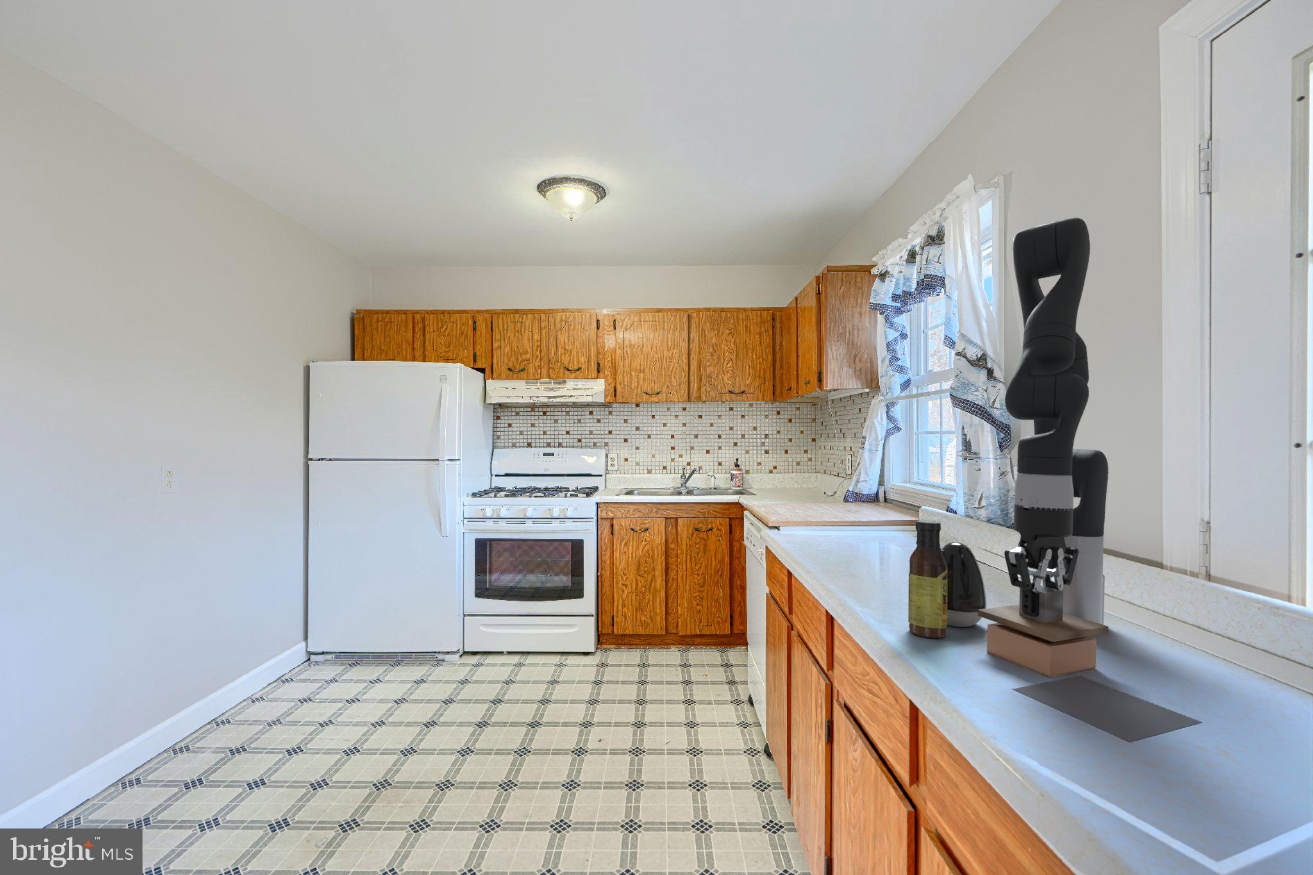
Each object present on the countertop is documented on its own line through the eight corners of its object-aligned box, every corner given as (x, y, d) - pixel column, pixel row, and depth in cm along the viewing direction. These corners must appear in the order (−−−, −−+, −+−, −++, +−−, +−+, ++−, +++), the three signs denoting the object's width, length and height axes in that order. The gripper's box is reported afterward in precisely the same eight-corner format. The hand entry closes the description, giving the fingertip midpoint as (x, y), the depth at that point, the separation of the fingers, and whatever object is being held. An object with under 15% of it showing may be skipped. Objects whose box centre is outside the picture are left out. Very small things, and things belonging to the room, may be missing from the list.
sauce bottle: (951, 641, 96) (954, 525, 96) (912, 637, 97) (915, 523, 97) (940, 628, 103) (942, 519, 103) (903, 625, 104) (906, 518, 104)
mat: (1080, 679, 82) (1080, 675, 82) (1202, 726, 69) (1202, 722, 69) (1012, 693, 77) (1012, 688, 77) (1129, 747, 64) (1129, 741, 64)
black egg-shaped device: (916, 612, 112) (918, 536, 112) (972, 615, 111) (974, 538, 111) (934, 629, 102) (936, 545, 102) (996, 633, 101) (998, 548, 101)
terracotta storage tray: (1030, 648, 94) (1030, 618, 94) (1095, 672, 84) (1096, 639, 84) (986, 655, 90) (987, 624, 90) (1049, 681, 81) (1050, 646, 81)
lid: (1029, 609, 95) (1030, 576, 95) (1108, 632, 84) (1109, 596, 84) (977, 615, 91) (978, 581, 91) (1053, 641, 79) (1054, 602, 79)
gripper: (1050, 499, 93) (1047, 603, 93) (988, 501, 88) (985, 611, 88) (1099, 505, 86) (1096, 617, 86) (1035, 507, 81) (1032, 626, 81)
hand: (1040, 613), depth 87 cm, fingers closed on lid, 4 cm apart
